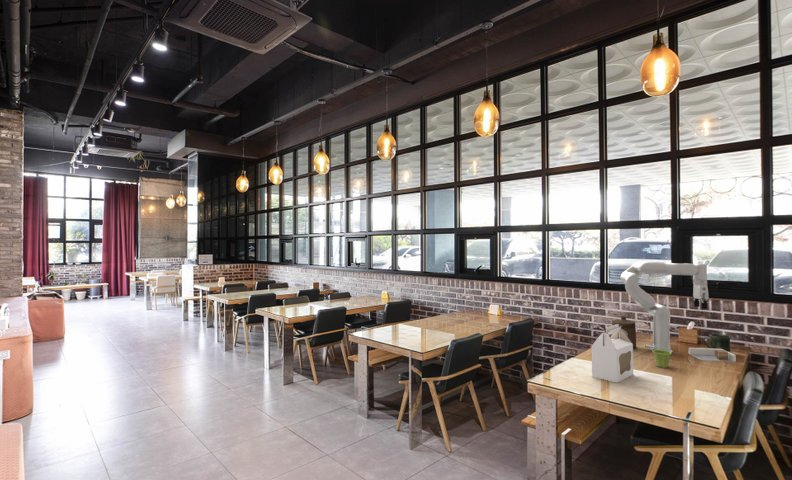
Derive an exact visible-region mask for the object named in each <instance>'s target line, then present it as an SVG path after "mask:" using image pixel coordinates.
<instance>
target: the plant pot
mask: <svg viewBox="0 0 792 480" xmlns="http://www.w3.org/2000/svg"><path fill="white" fill-rule="evenodd" d="M652 353H653V355H654V361H655V365H656V367H659V368H665V369H666V368H669V363H670V357H671V355H672V353H671V352H669V351H664V350H653V351H652Z"/></svg>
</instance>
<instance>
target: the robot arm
mask: <svg viewBox="0 0 792 480" xmlns="http://www.w3.org/2000/svg"><path fill="white" fill-rule="evenodd" d="M707 271H708V266H707V264H705V263H686V262H684V263H673V262H666V261H642V260H641V261H639V260H638V261H637V262H634V263H633V264H632V265H631V266H629V267H628V268H627V269H626V270H624V271H623V272H622V273H621V275H620V281H621V282H622V283H623V284H624V288H625V291H626V293H627V294H628V295H629V296H630V297H631V298H632V299H633V300H634V302H635V303H636V305H637V306H638V307H639V308H640V309H642V310H643V311H645V312H646V313H647V314H649V315H650V316H652V317H653V320H652V343H651V344H645V345H644V347H645V348H646V349H650V351H651V352H653V350H664V351H669V352H671V354H672V353H674V351H673V350H672V349H671V346H670V345H671V344H670V343H671V342H670V337H671V336H670V334H671V333H670V323H671V322H670V320H671V310H670V309H669V307H667V306H665V305H663V304H660V303H659V302H656V300H655V298H654V297H653V296H652V295H650V294H649V293H648V292H646V291H645V290H644V289H642V288H641V287H640V285H639V276H640V275H661V276H662V275H664V276H667V275H668V276H669V275H670V276H671V275H674V276H692V284H693V291H692V292H693V293H692V296H693V307H695V308H698V307H699V308H700V305H701V309H702V310H708V303H709V302H708V301H709V299H710V298H709V289H708V272H707ZM700 301H701V303H700Z"/></svg>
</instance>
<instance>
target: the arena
mask: <svg viewBox="0 0 792 480" xmlns="http://www.w3.org/2000/svg"><path fill="white" fill-rule="evenodd" d="M714 350H723V349H710V348H708V347H706V348H705V347H688V355H690V356H691V357H694V358H696V359H698V360H700V361H709V362H711V361H712V362H732V363H733V362H734V363H736V362H737V357H736V354H734V353H732V352H731V351H730V352H728V360H718V359H716V358H715V353H714ZM724 351H725V350H724ZM726 352H727V351H726Z"/></svg>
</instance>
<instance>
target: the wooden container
mask: <svg viewBox="0 0 792 480" xmlns="http://www.w3.org/2000/svg"><path fill="white" fill-rule="evenodd" d="M611 321H612V323H611V326H612V325H615V324H618V325H619V327H620V326H621V328H620V329H621V330H623V332H624V333H625V334H626V336H627V337H628V338H629V340H630V341H631V342H632V343H633V350H635V349H637V332H636V329H637V327H636V322H635V321H634V320H629V319H627V316H625V315H622V316H620V319H612V320H611ZM620 339H621V338H620Z"/></svg>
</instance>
